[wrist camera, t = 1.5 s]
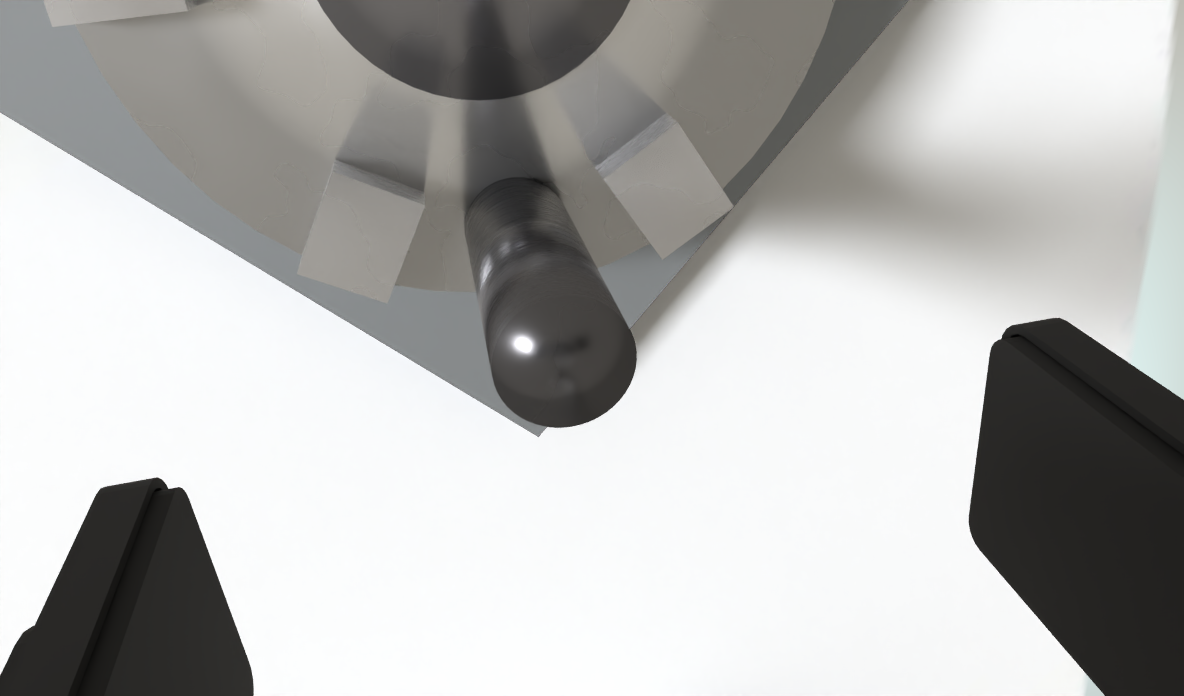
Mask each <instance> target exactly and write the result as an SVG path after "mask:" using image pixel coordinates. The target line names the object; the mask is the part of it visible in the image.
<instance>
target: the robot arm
mask: <svg viewBox="0 0 1184 696" xmlns="http://www.w3.org/2000/svg"><path fill="white" fill-rule="evenodd" d="M969 527H970V532H971V535H972V538H973V540H974V542H975V544H976V545H977V547H978V548H979V550H980V551H981V552H982V553H983V554H984V555H985V557H986V558H987V559H988V560H989V561H990V562H991V564H992V565H993V566H994V567H995V568H996V569H997V571H998V572H999V573H1000V574H1001V575H1002V576H1003V578H1004V579H1005V580H1006V581H1007V582H1008V583H1009V585H1010V586H1011V587H1012V588H1013V589H1014V590H1015V592H1016V593H1017V594H1018V595H1019V596H1020V597H1021V599H1022V600H1023V601H1024V602H1025V603H1026V604H1027V605H1028V607H1029V608H1030V609H1031V610H1032V611H1033V612H1034V614H1035V615H1036V616H1037V617H1038V618H1039V619H1040V621H1041V622H1042V623H1043V624H1044V625H1045V626H1046V628H1047V629H1048V630H1049V631H1050V632H1051V633H1052V635H1053V636H1054V637H1055V638H1056V639H1057V640H1058V642H1059V643H1060V644H1061V645H1062V646H1063V647H1064V649H1065V650H1066V651H1067V652H1068V653H1069V654H1070V655H1071V657H1072V658H1073V659H1074V660H1075V661H1076V662H1077V664H1078V665H1079V666H1080V667H1081V668H1082V669H1083V671H1084V672H1085V673H1086V674H1087V675H1088V676H1089V678H1090V679H1091V680H1092V681H1093V682H1094V683H1095V684H1096V686H1097V687H1098V688H1099V689H1100V690H1101V692H1102V693H1103V694H1104V695H1105V696H1184V400H1183V399H1181V398H1180V397H1178V396H1177V395H1175V394H1174V393H1172V392H1171V391H1170V390H1168V389H1167V388H1165V387H1164V386H1162V385H1161V384H1159V383H1158V382H1156V381H1155V380H1153V379H1152V378H1150V377H1149V376H1147V375H1146V374H1144V373H1143V372H1141V371H1139V370H1138V369H1137V368H1135V367H1134V366H1132V365H1131V364H1129V363H1128V362H1127V361H1125V360H1124V359H1122V358H1121V357H1119V356H1118V355H1116V354H1115V353H1113V352H1112V351H1110V350H1109V349H1107V348H1106V347H1104V346H1103V345H1101V344H1100V343H1098V342H1097V341H1095V340H1094V339H1092V338H1091V337H1089V336H1088V335H1086V334H1085V333H1084V332H1082V331H1081V330H1079V329H1078V328H1076V327H1075V326H1073V325H1072V324H1070V323H1069V322H1067V321H1065V320H1063V319H1061V318H1051V319H1046V320H1040V321H1034V322H1029V323H1023V324H1017V325H1012V326H1010V327H1009V328H1007V329H1006V330H1005V332H1004V334H1003V335H1002V339H1001V340H998V341H996V342H995V343H994V344H993V346H992V348H991V352H990V357H989V365H988V373H987V380H986V388H985V396H984V404H983V411H982V419H981V427H980V434H979V442H978V450H977V458H976V465H975V473H974V481H973V488H972V496H971V504H970V512H969ZM0 696H253V677H252V671H251V667H250V664H249V661H248V658H247V655H246V653H245V650H244V647H243V645H242V642H241V639H240V636H239V634H238V631H237V628H236V626H235V623H234V620H233V617H232V615H231V612H230V609H229V607H228V604H227V601H226V598H225V596H224V593H223V590H222V588H221V585H220V582H219V579H218V577H217V574H216V571H215V569H214V566H213V563H212V560H211V558H210V555H209V552H208V550H207V547H206V544H205V541H204V539H203V536H202V533H201V531H200V528H199V525H198V522H197V520H196V517H195V514H194V512H193V509H192V506H191V503H190V501H189V498H188V496H187V494H186V492H185V491H184V490H183V489H182V488H180V487H178V488H172V489H168V487H167V485H166V484H165V483H164V481H163V480H162V479H160V478H152V479H146V480H141V481H135V482H129V483H124V484H118V485H112V486H107V487H103V488H101V489H100V490H99V491H98V493H97V494H96V496H95V498H94V500H93V502H92V505H91V507H90V509H89V511H88V513H87V515H86V517H85V520H84V522H83V524H82V526H81V528H80V530H79V532H78V534H77V537H76V539H75V541H74V543H73V545H72V547H71V549H70V551H69V554H68V556H67V558H66V560H65V562H64V564H63V566H62V569H61V571H60V573H59V575H58V577H57V579H56V581H55V583H54V586H53V588H52V590H51V592H50V594H49V596H48V598H47V601H46V603H45V605H44V607H43V609H42V611H41V613H40V615H39V618H38V620H37V622H36V624H35V626H32V627H31V628H29V629H28V630H26V631H25V632H23V634H22V635H21V637H20V638H19V640H18V641H17V643H16V644H15V646H14V648H13V650H12V652H11V655H10V657H9V659H8V661H7V663H6V665H5V667H4V669H3V671H2V673H1V675H0Z"/></svg>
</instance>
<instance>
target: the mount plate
mask: <svg viewBox="0 0 1184 696" xmlns="http://www.w3.org/2000/svg"><path fill="white" fill-rule="evenodd" d="M908 1H909V0H835V2H834V5H833V8H832V11H831V15H830V18H829V21H828V24H827V27H826V30H825V33H824V36H823V38H822V40H821V42H820V45H819V47H818V49H817V51H816V54H815V56H814V58H813V60H812V63H811V65H810V67H809V70H808V72H807V74H806V76H805V78H804V80H803V82H802V84H801V85H800V87H799V89H798V90H797V92H796V94H795V96H794V97H793V99H792V101H791V102H790V104H789V106H788V108H787V109H786V111H785V113H784V114H783V116H782V118H781V120H780V121H779V122H778V124H777V125H776V126H775V128H774V129H773V130H772V132H771V133H770V134H769V136H768V137H767V138H766V140H765V141H764V142H763V144H762V145H761V146H760V148H759V149H758V150H757V152H756V153H755V154H754V156H753V157H752V158H751V159H750V160H749V161H748V163H747V164H746V165H745V166H744V167H743V168H742V169H741V170H740V171H739V172H738V173H737V174H736V175H735V176H734V177H733V178H732V180H731V181H730V182H729V183H728V184H727V185H726V186H725V187H724V188H723V189H722V190H723V191H724V193H725V194H726V196H727V197H728V199H729V200H730V202H731V203H732V205H733V206H735V205H736V203H737V202H738V201H739V200H740V199H741V198H742V196H743V195H744V194H745V193H746V192H747V190H748V189H749V188H750V187H751V186H752V185H753V183H754V182H755V181H756V180H757V179H758V178H759V176H760V175H761V174H762V173H763V172H764V170H765V169H766V168H767V167H768V166H769V165H770V163H771V162H772V161H773V160H774V159H775V157H776V156H777V155H778V154H779V153H780V152H781V150H782V149H783V148H784V147H785V146H786V145H787V143H788V142H789V141H790V140H791V139H792V137H793V136H794V135H795V134H796V133H797V132H798V130H799V129H800V128H801V127H802V126H803V124H804V123H805V122H806V121H807V120H808V119H809V117H810V116H811V115H812V114H813V113H814V111H815V110H816V109H817V108H818V107H819V106H820V104H821V103H822V102H823V101H824V100H825V99H826V97H827V96H828V95H829V94H830V93H831V91H832V90H833V89H834V88H835V87H836V86H837V84H838V83H839V82H840V81H841V80H842V78H843V77H844V76H845V75H846V74H847V73H848V71H849V70H850V69H851V68H852V67H853V65H854V64H855V63H856V62H857V61H858V60H859V58H860V57H861V56H862V55H863V54H864V53H865V51H866V50H867V49H868V48H869V47H870V45H871V44H872V43H873V42H874V41H875V40H876V38H877V37H878V36H879V35H880V34H881V32H882V31H883V30H884V29H885V28H886V27H887V25H888V24H889V23H890V22H891V21H892V19H893V18H894V17H895V16H896V15H897V14H898V12H899V11H900V10H901V9H902V8H903V7H904V5H905V4H906V3H907V2H908ZM0 113H2V114H4V115H5V116H7V117H9V118H10V119H12V120H14V121H15V122H17V123H19V124H20V125H22V126H24V127H25V128H27V129H29V130H30V131H32V132H34V133H35V134H37V135H39V136H40V137H42V138H44V139H45V140H47V141H48V142H50V143H52V144H53V145H55V146H57V147H58V148H60V149H62V150H63V151H65V152H67V153H68V154H70V155H72V156H73V157H75V158H77V159H78V160H80V161H82V162H83V163H85V164H87V165H88V166H90V167H92V168H93V169H95V170H97V171H98V172H100V173H102V174H103V175H105V176H107V177H108V178H110V179H112V180H113V181H115V182H116V183H118V184H120V185H121V186H123V187H125V188H126V189H128V190H130V191H131V192H133V193H135V194H136V195H138V196H140V197H141V198H143V199H145V200H146V201H148V202H150V203H151V204H153V205H155V206H156V207H158V208H160V209H161V210H163V211H165V212H166V213H168V214H170V215H171V216H173V217H175V218H176V219H178V220H179V221H181V222H183V223H184V224H186V225H188V226H189V227H191V228H193V229H194V230H196V231H198V232H199V233H201V234H203V235H204V236H206V237H208V238H209V239H211V240H213V241H214V242H216V243H218V244H219V245H221V246H223V247H224V248H226V249H228V250H229V251H231V252H233V253H234V254H236V255H238V256H239V257H241V258H243V259H244V260H246V261H247V262H249V263H251V264H252V265H254V266H256V267H257V268H259V269H261V270H262V271H264V272H266V273H267V274H269V275H271V276H272V277H274V278H276V279H277V280H279V281H281V282H282V283H284V284H286V285H287V286H289V287H291V288H292V289H294V290H296V291H297V292H299V293H301V294H302V295H304V296H306V297H307V298H309V299H311V300H312V301H314V302H315V303H317V304H319V305H320V306H322V307H324V308H325V309H327V310H329V311H330V312H332V313H334V314H335V315H337V316H339V317H340V318H342V319H344V320H345V321H347V322H349V323H350V324H352V325H354V326H355V327H357V328H359V329H360V330H362V331H364V332H365V333H367V334H369V335H370V336H372V337H374V338H375V339H377V340H379V341H380V342H382V343H383V344H385V345H387V346H388V347H390V348H392V349H393V350H395V351H397V352H398V353H400V354H402V355H403V356H405V357H407V358H408V359H410V360H412V361H413V362H415V363H417V364H418V365H420V366H422V367H423V368H425V369H427V370H428V371H430V372H432V373H433V374H435V375H437V376H438V377H440V378H442V379H443V380H445V381H446V382H448V383H450V384H451V385H453V386H455V387H456V388H458V389H460V390H461V391H463V392H465V393H466V394H468V395H470V396H471V397H473V398H475V399H476V400H478V401H480V402H481V403H483V404H485V405H486V406H488V407H490V408H491V409H493V410H495V411H496V412H498V413H500V414H501V415H503V416H505V417H506V418H508V419H510V420H511V421H513V422H514V423H516V424H518V425H519V426H521V427H523V428H524V429H526V430H528V431H529V432H531V433H533V434H534V435H536V436H538V437H539V436H540V435H541V433H542V432H543V431H544V430H545V429H546V428H547V427H545V426H541V425H536V424H534V423H531V422H528V421H526V420H524V419H522V418H521V417H519V416H518V415H516V414H515V413H513V412H512V411H511V410H510V409H509V408H508V407H507V406H506V405H505V403H504V402H503V401H502V400H501V398H500V396H499V395H498V393H497V391H496V388H495V386H494V382H493V378H492V373H491V368H490V363H489V357H488V352H487V347H486V342H485V337H484V332H483V326H482V321H481V316H480V311H479V306H478V300H477V295H476V292H447V291H431V290H424V289H417V288H410V287H403V286H396V285H394V287H393V290H392V293H391V295H390V298H389V300H388V303H384V302H381V301H378V300H375V299H372V298H369V297H366V296H363V295H360V294H357V293H353V292H350V291H347V290H344V289H341V288H338V287H335V286H332V285H329V284H326V283H323V282H320V281H317V280H314V279H311V278H308V277H304V276H301V275H298V274H297V271H298V267H299V264H300V260H301V257H302V255H300V254H298V253H296V252H295V251H293V250H291V249H289V248H287V247H285V246H284V245H282V244H280V243H278V242H276V241H274V240H273V239H271V238H269V237H267V236H265V235H263V234H261V233H260V232H258V231H256V230H255V229H253V228H252V227H250V226H249V225H247V224H246V223H245V222H243V221H242V220H240V219H239V218H237V217H236V216H235V215H233V214H232V213H230V212H229V211H228V210H226V209H225V208H223V207H222V206H220V205H219V204H218V203H216V202H215V201H213V200H212V199H211V198H210V197H209V196H208V195H207V194H206V193H204V192H203V191H202V190H201V189H200V188H199V187H198V186H197V185H195V184H194V183H193V182H192V181H191V180H190V179H189V178H188V177H186V176H185V175H184V174H183V173H182V172H181V171H180V170H179V169H178V168H176V167H175V166H174V165H173V164H172V163H171V162H170V160H169V159H168V158H167V157H166V156H165V155H164V154H163V153H162V152H161V150H160V149H159V148H158V147H157V146H156V145H155V144H154V143H153V141H152V140H151V139H150V138H149V137H148V136H147V135H146V134H145V132H144V131H143V130H142V129H141V128H140V127H139V126H138V125H137V123H136V122H135V121H134V119H133V118H132V116H131V115H130V114H129V112H128V111H127V109H126V108H125V106H124V105H123V104H122V102H121V101H120V99H119V98H118V97H117V95H116V94H115V92H114V91H113V89H112V88H111V87H110V85H109V84H108V82H107V81H106V79H105V78H104V77H103V75H102V73H101V71H100V70H99V68H98V66H97V64H96V62H95V60H94V59H93V57H92V55H91V53H90V51H89V49H88V47H87V46H86V44H85V42H84V40H83V38H82V36H81V35H80V33H79V31H78V29H77V27H76V25H75V24H74V25H66V26H57V27H52V25H51V22H50V19H49V16H48V13H47V10H46V7H45V4H44V1H43V0H0ZM730 211H731V210H729V211H728V212H727V213H725V214H724V215H722V216H721V217H720V218H718V219H717V220H716V221H714V222H713V223H712V224H710V225H709V226H708V227H706V228H705V229H704V230H702V231H701V232H699V233H698V234H697V235H695V236H694V237H693V238H691V239H690V240H689V241H687V242H686V243H685V244H683V245H682V246H681V247H679V248H678V249H676V250H675V251H674V252H672V253H671V254H670V255H668V256H667V257H666V258H664V259H663V260H662V258H661V257H660V256H659V254H658V253H657V252H656V250H655V249H654V248H653V246H652V245H651V243H650V244H648V245H646V246H644V247H642V248H640V249H638V250H636V251H634V252H632V253H630V254H628V255H626V256H624V257H622V258H620V259H618V260H616V261H614V262H612V263H610V264H608V265H605V266H602V267H599V268H598V270H599V272H600V274H601V276H602V278H603V280H604V282H605V283H606V285H607V287H608V289H609V291H610V293H611V295H612V297H613V299H614V300H615V302H616V304H617V306H618V308H619V310H620V312H621V314H622V316H623V317H624V319H625V321H626V323H627V325H628V327H629V329H630V328H631V327H632V326H633V325H634V324H635V323H636V321H637V320H638V319H639V318H640V317H641V316H642V314H643V313H644V312H645V311H646V310H647V308H648V307H649V306H650V305H651V304H652V303H653V301H654V300H655V299H656V298H657V297H658V295H659V294H660V293H661V292H662V291H663V290H664V288H665V287H666V286H667V285H668V284H669V282H670V281H671V280H672V279H673V278H674V277H675V275H676V274H677V273H678V272H679V271H680V270H681V268H682V267H683V266H684V265H685V264H686V262H687V261H688V260H689V259H690V258H691V257H692V255H693V254H694V253H695V252H696V251H697V249H698V248H699V247H700V246H701V245H702V244H703V242H704V241H705V240H706V239H707V238H708V236H709V235H710V234H711V233H712V232H713V231H714V229H715V228H716V227H717V226H718V225H719V224H720V222H721V221H722V220H723V219H724V218H725V216H726V215H727V214H728V213H729V212H730Z"/></svg>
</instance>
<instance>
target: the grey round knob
mask: <svg viewBox="0 0 1184 696" xmlns="http://www.w3.org/2000/svg"><path fill="white" fill-rule="evenodd" d="M43 1H44V4H45V7H46V10H47V13H48V16H49V19H50V22H51V25H52V27H57V26H66V25H74V24H75V25H76V27H77V29H78V31H79V33H80V35H81V36H82V38H83V40H84V42H85V44H86V46H87V47H88V49H89V51H90V53H91V55H92V57H93V59H94V60H95V62H96V64H97V66H98V68H99V70H100V71H101V73H102V75H103V77H104V78H105V79H106V81H107V82H108V84H109V85H110V87H111V88H112V89H113V91H114V92H115V94H116V95H117V97H118V98H119V99H120V101H121V102H122V104H123V105H124V106H125V108H126V109H127V111H128V112H129V114H130V115H131V116H132V118H133V119H134V121H135V122H136V123H137V125H138V126H139V127H140V128H141V129H142V130H143V131H144V132H145V134H146V135H147V136H148V137H149V138H150V139H151V140H152V141H153V143H154V144H155V145H156V146H157V147H158V148H159V149H160V150H161V152H162V153H163V154H164V155H165V156H166V157H167V158H168V159H169V160H170V162H171V163H172V164H173V165H174V166H175V167H176V168H178V169H179V170H180V171H181V172H182V173H183V174H184V175H185V176H186V177H188V178H189V179H190V180H191V181H192V182H193V183H194V184H195V185H197V186H198V187H199V188H200V189H201V190H202V191H203V192H204V193H206V194H207V195H208V196H209V197H210V198H211V199H212V200H213V201H215V202H216V203H218V204H219V205H220V206H222V207H223V208H225V209H226V210H228V211H229V212H230V213H232V214H233V215H235V216H236V217H237V218H239V219H240V220H242V221H243V222H245V223H246V224H247V225H249V226H250V227H252V228H253V229H255V230H256V231H258V232H260V233H261V234H263V235H265V236H267V237H269V238H271V239H273V240H274V241H276V242H278V243H280V244H282V245H284V246H285V247H287V248H289V249H291V250H293V251H295V252H296V253H298V254H300V255H302V257H301V260H300V264H299V267H298V271H297V274H298V275H301V276H304V277H308V278H311V279H314V280H317V281H320V282H323V283H326V284H329V285H332V286H335V287H338V288H341V289H344V290H347V291H350V292H353V293H357V294H360V295H363V296H366V297H369V298H372V299H375V300H378V301H381V302H384V303H388V300H389V298H390V295H391V293H392V290H393V287H394V285H396V286H403V287H410V288H417V289H424V290H431V291H447V292H476V295H477V300H478V306H479V311H480V316H481V321H482V326H483V332H484V337H485V342H486V347H487V352H488V357H489V363H490V368H491V373H492V378H493V382H494V386H495V388H496V391H497V393H498V395H499V396H500V398H501V400H502V401H503V402H504V403H505V405H506V406H507V407H508V408H509V409H510V410H511V411H512V412H513V413H515V414H516V415H518V416H519V417H521V418H522V419H524V420H526V421H528V422H531V423H534V424H536V425H541V426H545V427H554V428H561V427H572V426H576V425H580V424H584V423H586V422H589V421H592V420H594V419H596V418H598V417H599V416H601V415H603V414H604V413H606V412H607V411H608V410H610V409H611V408H612V407H613V406H614V405H615V404H616V403H617V402H618V401H619V400H620V399H621V398H622V396H623V395H624V394H625V392H626V391H627V389H628V387H629V385H630V383H631V381H632V378H633V376H634V372H635V368H636V360H637V358H636V346H635V341H634V338H633V335H632V333H631V331H630V329H629V327H628V325H627V323H626V321H625V319H624V317H623V316H622V314H621V312H620V310H619V308H618V306H617V304H616V302H615V300H614V299H613V297H612V295H611V293H610V291H609V289H608V287H607V285H606V283H605V282H604V280H603V278H602V276H601V274H600V272H599V270H598V268H599V267H602V266H605V265H608V264H610V263H612V262H614V261H616V260H618V259H620V258H622V257H624V256H626V255H628V254H630V253H632V252H634V251H636V250H638V249H640V248H642V247H644V246H646V245H648V244H650V243H651V245H652V246H653V248H654V249H655V250H656V252H657V253H658V254H659V256H660V257H661V258H662V260H663V259H664V258H666V257H667V256H668V255H670V254H671V253H672V252H674V251H675V250H676V249H678V248H679V247H681V246H682V245H683V244H685V243H686V242H687V241H689V240H690V239H691V238H693V237H694V236H695V235H697V234H698V233H699V232H701V231H702V230H704V229H705V228H706V227H708V226H709V225H710V224H712V223H713V222H714V221H716V220H717V219H718V218H720V217H721V216H722V215H724V214H725V213H727V212H728V211H729V210H731V209H732V208H733V207H734V206H733V205H732V203H731V202H730V200H729V199H728V197H727V196H726V194H725V193H724V191H723V190H722V189H723V188H724V187H725V186H726V185H727V184H728V183H729V182H730V181H731V180H732V178H733V177H734V176H735V175H736V174H737V173H738V172H739V171H740V170H741V169H742V168H743V167H744V166H745V165H746V164H747V163H748V161H749V160H750V159H751V158H752V157H753V156H754V154H755V153H756V152H757V150H758V149H759V148H760V146H761V145H762V144H763V142H764V141H765V140H766V138H767V137H768V136H769V134H770V133H771V132H772V130H773V129H774V128H775V126H776V125H777V124H778V122H779V121H780V120H781V118H782V116H783V114H784V113H785V111H786V109H787V108H788V106H789V104H790V102H791V101H792V99H793V97H794V96H795V94H796V92H797V90H798V89H799V87H800V85H801V84H802V82H803V80H804V78H805V76H806V74H807V72H808V70H809V67H810V65H811V63H812V60H813V58H814V56H815V54H816V51H817V49H818V47H819V45H820V42H821V40H822V38H823V36H824V33H825V30H826V27H827V24H828V21H829V18H830V15H831V11H832V8H833V5H834V2H835V0H43Z"/></svg>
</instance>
